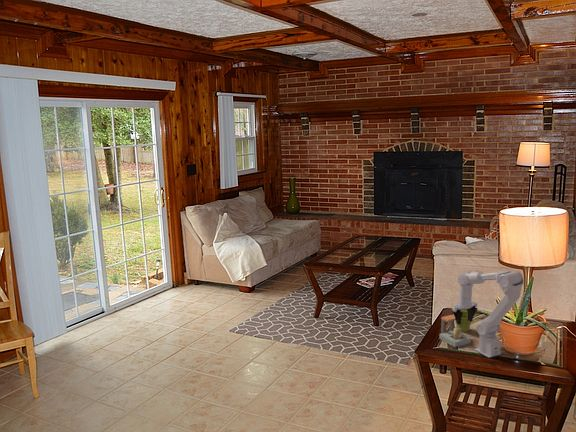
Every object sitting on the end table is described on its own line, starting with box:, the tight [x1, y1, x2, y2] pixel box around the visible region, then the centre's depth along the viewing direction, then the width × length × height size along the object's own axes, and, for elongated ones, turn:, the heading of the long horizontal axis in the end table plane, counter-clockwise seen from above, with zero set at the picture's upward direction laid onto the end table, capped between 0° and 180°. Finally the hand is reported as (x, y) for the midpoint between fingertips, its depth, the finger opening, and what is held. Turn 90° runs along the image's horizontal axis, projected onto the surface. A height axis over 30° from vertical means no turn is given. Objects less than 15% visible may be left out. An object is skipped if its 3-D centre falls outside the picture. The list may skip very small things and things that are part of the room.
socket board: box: [438, 330, 472, 348], centre depth 259 cm, size 11×10×2 cm
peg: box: [453, 326, 462, 340], centre depth 257 cm, size 4×4×7 cm
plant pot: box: [455, 310, 472, 333], centre depth 271 cm, size 9×9×9 cm
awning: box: [440, 314, 456, 334], centre depth 264 cm, size 4×7×10 cm, turn 115°
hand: (464, 322), depth 257 cm, fingers open, 7 cm apart
